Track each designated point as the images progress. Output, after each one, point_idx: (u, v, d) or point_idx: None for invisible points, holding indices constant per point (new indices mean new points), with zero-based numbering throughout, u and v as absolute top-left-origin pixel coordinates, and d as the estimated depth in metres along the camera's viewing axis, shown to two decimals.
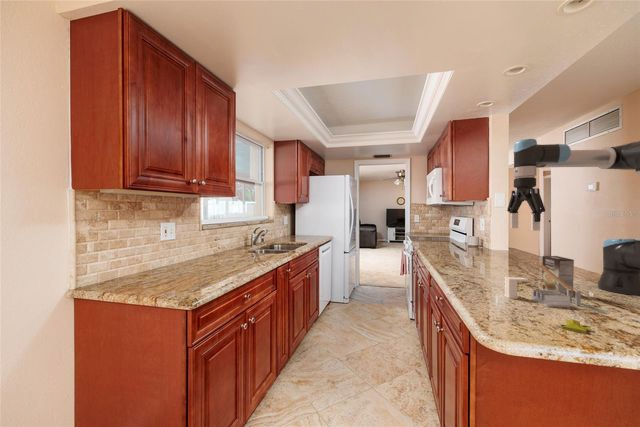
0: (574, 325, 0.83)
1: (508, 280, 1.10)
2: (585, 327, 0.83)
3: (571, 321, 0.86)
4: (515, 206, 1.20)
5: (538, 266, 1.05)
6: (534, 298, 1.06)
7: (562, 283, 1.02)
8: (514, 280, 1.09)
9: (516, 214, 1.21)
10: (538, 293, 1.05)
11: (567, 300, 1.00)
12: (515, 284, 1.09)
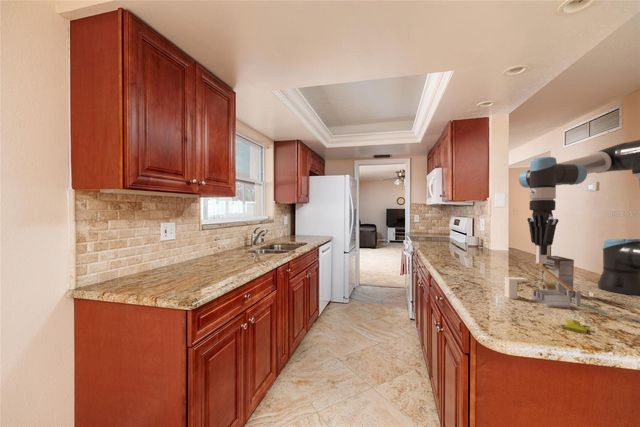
0: (574, 325, 0.83)
1: (508, 280, 1.10)
2: (585, 327, 0.83)
3: (571, 321, 0.86)
4: (538, 234, 1.04)
5: (538, 266, 1.05)
6: (534, 298, 1.06)
7: (562, 283, 1.02)
8: (514, 280, 1.09)
9: None
10: (538, 293, 1.05)
11: (567, 300, 1.00)
12: (515, 284, 1.09)
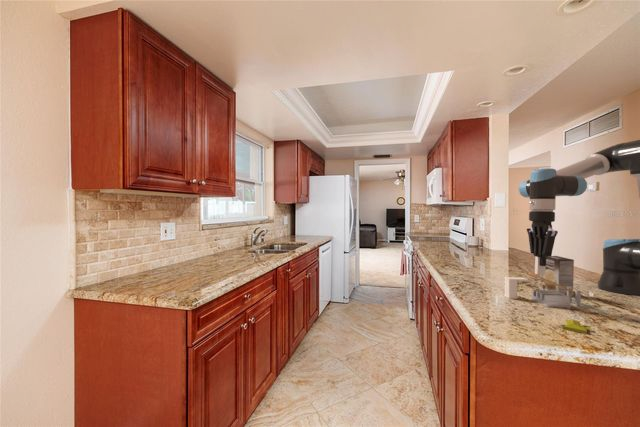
0: (574, 325, 0.83)
1: (508, 280, 1.10)
2: (585, 327, 0.83)
3: (571, 321, 0.86)
4: (537, 245, 1.04)
5: None
6: (534, 298, 1.06)
7: (560, 287, 1.02)
8: (514, 280, 1.09)
9: None
10: (538, 293, 1.05)
11: (567, 300, 1.00)
12: (515, 284, 1.09)
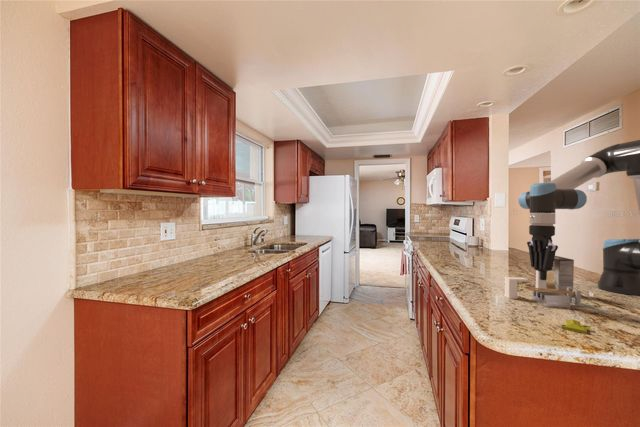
0: (574, 325, 0.83)
1: (508, 280, 1.10)
2: (585, 327, 0.83)
3: (571, 321, 0.86)
4: (538, 259, 1.04)
5: None
6: (534, 298, 1.06)
7: (559, 292, 1.02)
8: (514, 280, 1.09)
9: None
10: (538, 293, 1.05)
11: (567, 300, 1.00)
12: (515, 284, 1.09)
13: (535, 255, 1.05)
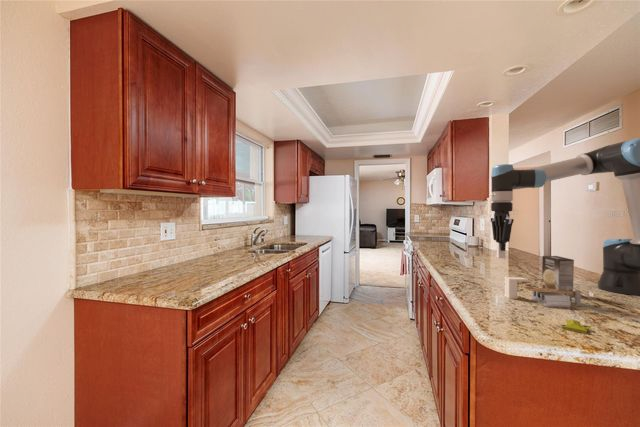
0: (575, 325, 0.83)
1: (508, 280, 1.10)
2: (585, 327, 0.83)
3: (571, 321, 0.86)
4: (498, 232, 1.18)
5: None
6: (534, 298, 1.06)
7: (559, 292, 1.02)
8: (514, 280, 1.09)
9: None
10: (538, 293, 1.05)
11: (567, 300, 1.00)
12: (515, 284, 1.09)
13: (496, 229, 1.18)
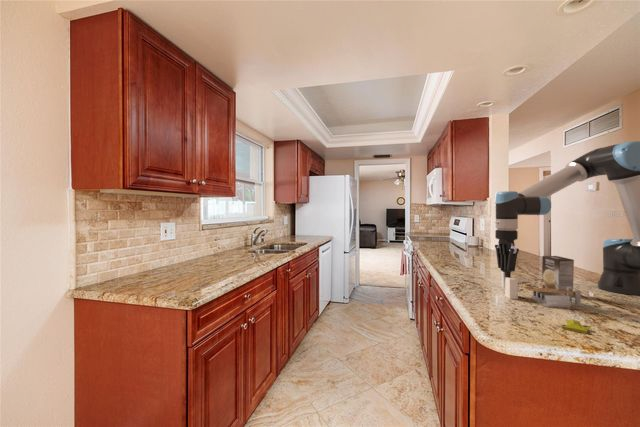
0: (575, 325, 0.83)
1: (509, 280, 1.09)
2: (586, 327, 0.83)
3: (572, 321, 0.86)
4: (503, 260, 1.14)
5: None
6: (534, 298, 1.06)
7: (559, 292, 1.02)
8: (515, 280, 1.08)
9: None
10: (538, 293, 1.05)
11: (567, 300, 1.00)
12: (516, 284, 1.08)
13: (501, 257, 1.15)
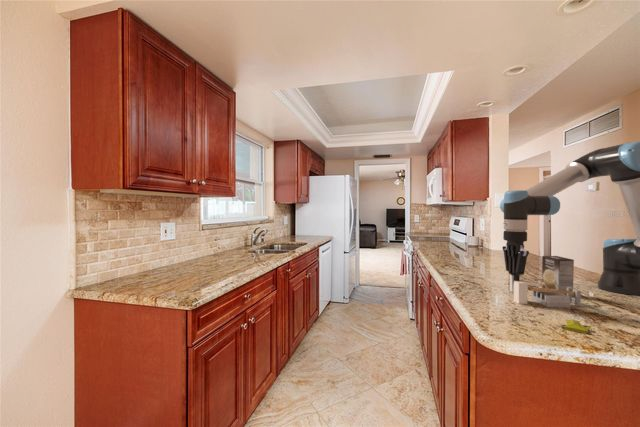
0: (575, 325, 0.83)
1: (518, 284, 1.03)
2: (586, 327, 0.83)
3: (572, 321, 0.86)
4: (511, 263, 1.09)
5: None
6: (534, 298, 1.06)
7: (559, 292, 1.02)
8: (524, 284, 1.03)
9: None
10: (538, 293, 1.05)
11: (567, 300, 1.00)
12: (525, 288, 1.03)
13: (509, 260, 1.09)
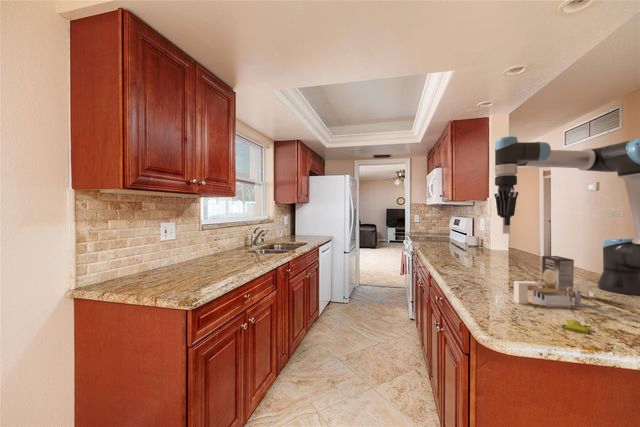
0: (576, 325, 0.83)
1: (517, 284, 1.04)
2: (586, 327, 0.83)
3: (572, 321, 0.86)
4: (503, 207, 1.15)
5: None
6: (534, 298, 1.06)
7: (559, 292, 1.02)
8: (524, 284, 1.03)
9: None
10: (538, 293, 1.05)
11: (567, 300, 1.00)
12: (525, 288, 1.03)
13: (500, 204, 1.15)
